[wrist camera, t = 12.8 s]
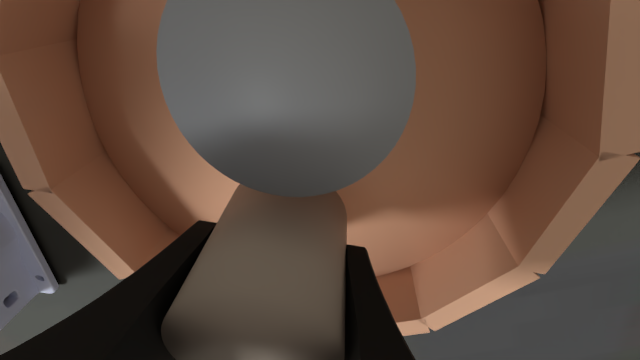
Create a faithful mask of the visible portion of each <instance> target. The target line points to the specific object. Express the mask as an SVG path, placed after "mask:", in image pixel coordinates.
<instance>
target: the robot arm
mask: <svg viewBox="0 0 640 360" xmlns="http://www.w3.org/2000/svg"><path fill="white" fill-rule="evenodd" d="M216 224H217V223H214V222H208V221H202V220H199V221H197V222H196V223H195V224H193V225H192V226H191V227H190V228H189V229H187V230H186V231H185V232H184V233H183V234H181V235H180V236H179V237H178V238H177V239H176V240H174V241H173V242H172V243H171V244H169V245H168V246H167V247H166V248H165V249H163V250H162V251H161V252H160V253H158V254H157V255H156V256H155V257H153V258H152V259H151V260H149V261H148V262H147V263H146V264H144V265H143V266H142V267H141V268H139V269H138V270H137V271H135V272H134V273H132V274H131V275H130V276H128V277H127V278H126V279H124V280H123V281H121V282H120V283H119V284H117V285H116V286H115V287H113V288H112V289H110V290H109V291H107V292H106V293H104V294H103V295H102V296H100V297H99V298H97V299H96V300H94V301H93V302H91V303H90V304H88V305H86V306H85V307H83V308H82V309H80V310H79V311H77V312H75V313H74V314H72V315H71V316H69V317H67V318H66V319H64V320H62V321H61V322H59V323H57V324H55V325H54V326H52V327H50V328H49V329H47V330H45V331H44V332H42V333H40V334H38V335H37V336H35V337H33V338H31V339H30V340H28V341H26V342H24V343H23V344H21V345H19V346H17V347H15V348H13V349H11V350H10V351H8V352H6V353H4V354H2V355H0V360H176V359H175V358H174V357H173V356H172V355H171V354H170V353H169V351H168V350H167V348H166V346H165V345H164V343H163V340H162V336H161V325H162V322H163V320H164V318H165V316H166V314H167V312H168V310H169V309H170V307H171V305H172V303H173V301H174V300H175V298H176V296H177V294H178V292H179V291H180V289H181V287H182V285H183V283H184V282H185V280H186V278H187V276H188V274H189V273H190V271H191V269H192V267H193V265H194V264H195V262H196V260H197V258H198V256H199V255H200V253H201V251H202V249H203V247H204V246H205V244H206V242H207V240H208V238H209V237H210V235H211V233H212V231H213V229H214V228H215V226H216ZM58 288H59V285H58V283H57V281H56V279H55V277H54V275H53V273H52V272H51V270H50V268H49V266H48V264H47V262H46V260H45V258H44V256H43V254H42V252H41V250H40V249H39V247H38V245H37V243H36V241H35V239H34V237H33V235H32V233H31V231H30V229H29V227H28V226H27V224H26V222H25V220H24V218H23V216H22V214H21V212H20V210H19V208H18V206H17V205H16V203H15V201H14V199H13V197H12V195H11V193H10V191H9V189H8V187H7V185H6V183H5V182H4V180H3V178H2V176H1V174H0V330H1V329H2V328H3V327H4V326H5V325H6V324H7V323H8V322H9V321H10V320H11V319H12V318H13V317H14V316H15V315H16V314H17V313H18V312H19V311H20V310H21V309H22V308H23V307H24V306H25V305H26V304H27V303H29V302H30V301H31V300H32V299H33V298H34V297H35V296H36V295H37V294H38V293H39V292H43V293H54V292H55V291H56V290H57V289H58ZM344 360H415V358H414V356H413V354H412V353H411V351H410V349H409V347H408V345H407V343H406V342H405V340H404V338H403V336H402V334H401V332H400V330H399V328H398V326H397V324H396V322H395V320H394V318H393V316H392V313H391V311H390V309H389V307H388V304H387V302H386V300H385V298H384V295H383V293H382V291H381V288H380V286H379V283H378V281H377V278H376V276H375V273H374V270H373V267H372V264H371V261H370V258H369V255H368V252H367V249H366V248H365V247H361V246H355V245H349V244H346V304H345V357H344Z"/></svg>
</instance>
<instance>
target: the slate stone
mask: <svg viewBox="0 0 640 360" xmlns="http://www.w3.org/2000/svg"><path fill="white" fill-rule="evenodd" d="M156 52H157V69H158V75H159V80H160V86H161V89H162V92H163V95H164V99H165V102H166V104H167V106H168V109H169V111H170V113H171V116H172V118H173V119H174V121H175V123H176V125H177V126H178V128H179V130H180V131H181V133H182V134H183V136H184V137H185V138H186V140H187V141H188V143H189V144H190V145H191V146H192V147H193V148H194V149H195V151H196V152H197V153H198V154H199V155H200V156H201V157H202V158H203V159H204V160H206V161H207V162H208V163H209V164H210V165H211V166H213V167H214V168H215V169H217V170H218V171H219V172H221V173H222V174H224V175H225V176H227V177H228V178H230V179H232V180H233V181H235V182H238V183H240V184H242V185H244V186H246V187H248V188H251V189H254V190H257V191H260V192H264V193H268V194H272V195H278V196H285V197H309V196H317V195H322V194H327V193H330V192H334V191H337V190H340V189H342V188H344V187H347V186H349V185H351V184H353V183H355V182H357V181H358V180H360V179H362V178H363V177H365V176H366V175H367V174H369V173H370V172H371V171H373V170H374V169H375V168H376V167H377V166H378V165H379V164H380V163H381V162H382V161H383V160H384V159H385V158H386V157H387V156H388V154H389V153H390V152H391V151H392V149H393V148H394V147H395V145H396V143H397V142H398V140H399V138H400V137H401V135H402V133H403V131H404V129H405V126H406V124H407V122H408V119H409V116H410V112H411V109H412V105H413V101H414V94H415V87H416V64H415V56H414V48H413V45H412V41H411V37H410V33H409V30H408V27H407V25H406V22H405V20H404V17H403V15H402V13H401V10H400V9H399V7H398V5H397V4H396V2H395V0H167V2H166V5H165V8H164V10H163V13H162V16H161V21H160V25H159V30H158V37H157V50H156Z"/></svg>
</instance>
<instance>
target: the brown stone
mask: <svg viewBox="0 0 640 360" xmlns="http://www.w3.org/2000/svg"><path fill="white" fill-rule="evenodd" d="M346 244H347V213H346V208H345V205H344V203H343V201H342V199H341V197H340V196H339V195H338V193H337V192H336V191H334V192H330V193H327V194H322V195H317V196H309V197H285V196H278V195H272V194H268V193H264V192H260V191H257V190H254V189H251V188H248V187H246V186H244V185H242V184H239V185H238V187H237V188H236V190H235V191H234V193H233V195H232V197H231V199H230V200H229V202H228V204H227V206H226V208H225V209H224V211H223V213H222V215H221V217H220V218H219V220H218V222H217V224H216V226H215V228H214V229H213V231H212V233H211V235H210V237H209V238H208V240H207V242H206V244H205V246H204V247H203V249H202V251H201V253H200V255H199V256H198V258H197V260H196V262H195V264H194V265H193V267H192V269H191V271H190V273H189V274H188V276H187V278H186V280H185V282H184V283H183V285H182V287H181V289H180V291H179V292H178V294H177V296H176V298H175V300H174V301H173V303H172V305H171V307H170V309H169V310H168V312H167V314H166V316H165V318H164V320H163V322H162V325H161V336H162V340H163V343H164V345H165V346H166V348H167V350H168V351H169V353H170V354H171V355H172V356H173V357H174V358H175V359H176V360H344V357H345V304H346Z"/></svg>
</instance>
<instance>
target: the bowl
mask: <svg viewBox="0 0 640 360" xmlns="http://www.w3.org/2000/svg"><path fill="white" fill-rule="evenodd" d="M166 2H167V0H0V142H1V144H2V147H3V149H4V151H5V153H6V155H7V157H8V159H9V161H10V163H11V165H12V167H13V169H14V171H15V173H16V175H17V177H18V179H19V181H20V183H21V185H22V187H23V189H28V190H32V191H31V192H29V193H28V195H29V196H30V197H31V198H32V199H33V200H34V201H35V202H36V203H38V204H39V205H40V206H41V207H42V208H43V209H44V210H45V211H46V212H47V213H48V214H49V215H50V216H52V217H53V218H54V219H55V220H56V221H57V222H58V223H59V224H60V225H61V226H62V227H63V228H64V229H65V230H67V231H68V232H69V233H70V234H71V235H72V236H73V237H74V238H75V239H76V240H77V241H78V242H79V243H81V244H82V245H83V246H84V247H85V248H86V249H87V250H88V251H89V252H90V253H91V254H92V255H93V256H95V257H96V258H97V259H98V260H99V261H100V262H101V263H102V264H103V265H104V266H105V267H106V268H107V269H108V270H110V271H111V272H112V273H113V274H114V275H115V276H116V277H117V278H118V279H123V278H127V277H128V276H130V275H131V274H132V273H134V272H135V271H137V270H138V269H139V268H141V267H142V266H143V265H144V264H146V263H147V262H148V261H149V260H151V259H152V258H153V257H155V256H156V255H157V254H158V253H160V252H161V251H162V250H163V249H165V248H166V247H167V246H168V245H169V244H171V243H172V242H173V241H174V240H176V239H177V238H178V237H179V236H180V235H181V234H183V233H184V232H185V231H186V230H187V229H189V228H190V227H191V226H192V225H193V224H195V223H196V222H197V221H199V220H202V221H208V222H214V223H217V222H218V220H219V218H220V217H221V215H222V213H223V211H224V209H225V208H226V206H227V204H228V202H229V200H230V199H231V197H232V195H233V193H234V191H235V190H236V188H237V187H238V185H239V184H240V183H238V182H235V181H233V180H232V179H230V178H228V177H227V176H225V175H224V174H222V173H221V172H219V171H218V170H217V169H215V168H214V167H213V166H211V165H210V164H209V163H208V162H207V161H206V160H204V159H203V158H202V157H201V156H200V155H199V154H198V153H197V152H196V151H195V149H194V148H193V147H192V146H191V145H190V144H189V143H188V141H187V140H186V138H185V137H184V136H183V134H182V133H181V131H180V130H179V128H178V126H177V125H176V123H175V121H174V119H173V118H172V116H171V113H170V111H169V109H168V106H167V104H166V102H165V99H164V95H163V92H162V89H161V86H160V80H159V75H158V69H157V52H156V50H157V37H158V30H159V25H160V21H161V16H162V13H163V10H164V8H165V5H166ZM395 2H396V4H397V5H398V7H399V9H400V10H401V13H402V15H403V17H404V20H405V22H406V25H407V27H408V30H409V33H410V37H411V41H412V45H413V48H414V56H415V64H416V87H415V94H414V101H413V105H412V109H411V112H410V116H409V119H408V122H407V124H406V126H405V129H404V131H403V133H402V135H401V137H400V138H399V140H398V142H397V143H396V145H395V147H394V148H393V149H392V151H391V152H390V153H389V154H388V156H387V157H386V158H385V159H384V160H383V161H382V162H381V163H380V164H379V165H378V166H377V167H376V168H375V169H374V170H373V171H371V172H370V173H369V174H367V175H366V176H365V177H363V178H362V179H360V180H358V181H357V182H355V183H353V184H351V185H349V186H347V187H344V188H342V189H340V190H337V191H336V192H337V193H338V195H339V196H340V197H341V199H342V201H343V203H344V205H345V208H346V213H347V244H349V245H355V246H361V247H365V248H366V249H367V252H368V255H369V258H370V261H371V264H372V267H373V270H374V273H375V276H376V278H377V281H378V283H379V286H380V288H381V291H382V293H383V295H384V298H385V300H386V302H387V304H388V307H389V309H390V311H391V313H392V316H393V318H394V320H395V322H396V324H397V326H398V328H399V330H400V332H401V334H402V336H407V335H414V334H422V333H429V332H430V330H429V328H431V329H432V330H434V331H436V330H438V329H440V328H442V327H444V326H446V325H448V324H450V323H452V322H454V321H456V320H458V319H460V318H462V317H464V316H466V315H468V314H470V313H472V312H473V311H475V310H477V309H479V308H481V307H483V306H485V305H487V304H489V303H491V302H493V301H495V300H497V299H499V298H501V297H503V296H505V295H507V294H509V293H511V292H513V291H515V290H517V289H519V288H521V287H523V286H525V285H527V284H529V283H531V282H533V281H535V280H537V279H539V278H540V277H539V275H538V274H537V273H540V274H546V272H547V271H548V270H549V269H550V268H551V266H552V265H553V264H554V263H555V261H556V260H557V259H558V258H559V257H560V255H561V254H562V253H563V252H564V251H565V249H566V248H567V247H568V246H569V245H570V243H571V242H572V241H573V240H574V238H575V237H576V236H577V235H578V234H579V232H580V231H581V230H582V229H583V228H584V226H585V225H586V224H587V223H588V222H589V220H590V219H591V218H592V217H593V216H594V214H595V213H596V212H597V211H598V209H599V208H600V207H601V206H602V205H603V203H604V202H605V201H606V200H607V199H608V197H609V196H610V195H611V194H612V193H613V191H614V190H615V189H616V188H617V186H618V185H619V184H620V183H621V182H622V180H623V179H624V178H625V177H626V176H627V174H628V173H629V172H630V171H631V170H632V168H633V167H634V166H635V165H636V163H637V162H638V161H639V160H640V157H639V156H637V155H635V154H634V153H637V152H640V0H395Z"/></svg>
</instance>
